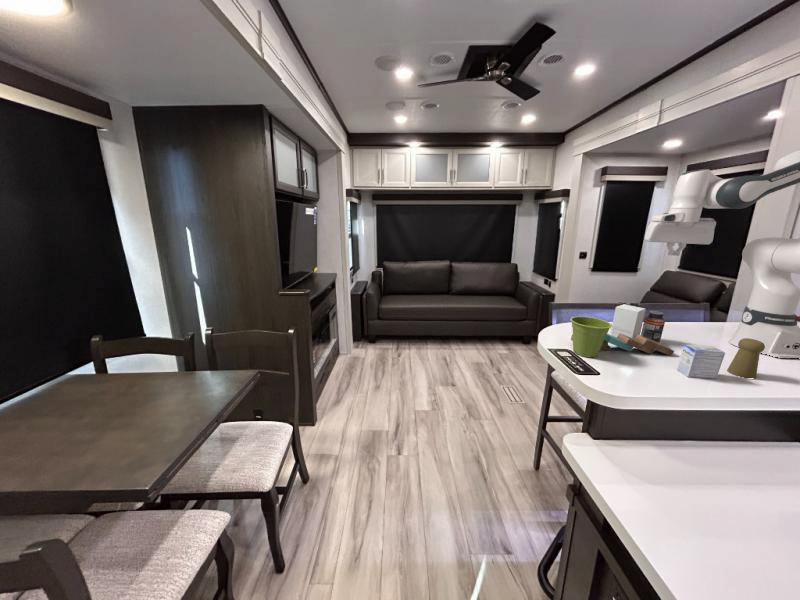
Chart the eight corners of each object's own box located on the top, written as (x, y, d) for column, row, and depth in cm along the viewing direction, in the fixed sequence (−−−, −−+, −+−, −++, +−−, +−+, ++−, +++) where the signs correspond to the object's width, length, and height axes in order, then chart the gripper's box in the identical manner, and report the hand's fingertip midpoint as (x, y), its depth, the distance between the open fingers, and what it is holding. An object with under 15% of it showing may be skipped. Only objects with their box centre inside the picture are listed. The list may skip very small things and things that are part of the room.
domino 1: (601, 336, 113) (571, 334, 114) (608, 341, 108) (577, 339, 109) (599, 341, 113) (570, 339, 114) (607, 347, 108) (576, 345, 109)
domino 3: (622, 340, 112) (601, 330, 110) (633, 346, 107) (611, 337, 105) (618, 344, 113) (597, 335, 110) (629, 351, 108) (608, 342, 106)
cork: (750, 380, 91) (763, 345, 88) (722, 371, 96) (734, 337, 93) (760, 376, 93) (772, 342, 90) (732, 367, 98) (744, 334, 95)
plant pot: (598, 348, 110) (605, 318, 107) (610, 363, 99) (618, 329, 96) (561, 344, 113) (566, 314, 110) (569, 358, 102) (575, 325, 99)
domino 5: (664, 345, 110) (637, 334, 110) (674, 351, 105) (646, 339, 105) (660, 349, 110) (634, 338, 110) (670, 356, 105) (643, 344, 105)
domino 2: (603, 341, 113) (574, 339, 115) (610, 347, 109) (580, 344, 110) (602, 346, 114) (573, 344, 115) (609, 352, 109) (579, 350, 110)
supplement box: (639, 340, 118) (647, 308, 115) (630, 344, 114) (638, 311, 111) (617, 334, 124) (624, 303, 121) (608, 338, 120) (615, 306, 116)
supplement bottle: (647, 337, 122) (654, 309, 119) (663, 343, 116) (671, 314, 113) (635, 338, 120) (642, 310, 117) (651, 344, 114) (659, 315, 111)
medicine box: (704, 372, 95) (712, 345, 93) (717, 379, 91) (726, 352, 88) (676, 370, 96) (683, 343, 93) (687, 377, 91) (695, 350, 89)
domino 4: (644, 343, 111) (619, 333, 110) (655, 349, 106) (629, 338, 105) (641, 348, 111) (616, 337, 110) (651, 354, 106) (625, 343, 106)
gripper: (711, 218, 115) (700, 256, 119) (647, 216, 119) (638, 253, 123) (723, 218, 109) (712, 258, 113) (656, 216, 113) (647, 255, 117)
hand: (673, 255), depth 118 cm, fingers closed
